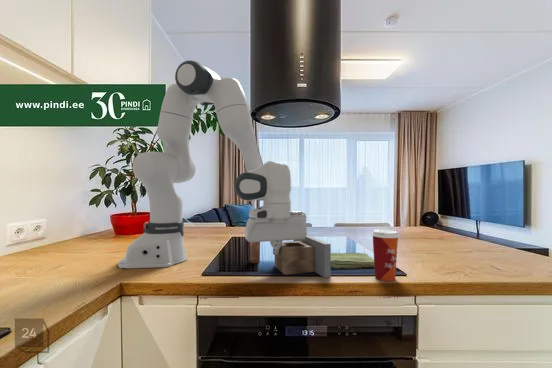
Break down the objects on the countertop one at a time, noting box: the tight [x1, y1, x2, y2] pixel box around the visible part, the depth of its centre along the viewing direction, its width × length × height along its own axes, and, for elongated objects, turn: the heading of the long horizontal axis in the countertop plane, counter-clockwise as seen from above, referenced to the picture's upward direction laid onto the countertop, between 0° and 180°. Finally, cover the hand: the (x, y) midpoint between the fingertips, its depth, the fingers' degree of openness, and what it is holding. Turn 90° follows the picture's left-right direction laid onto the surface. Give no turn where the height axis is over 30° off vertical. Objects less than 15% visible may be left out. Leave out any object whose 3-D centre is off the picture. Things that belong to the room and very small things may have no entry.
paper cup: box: [371, 229, 400, 282], centre depth 87 cm, size 8×8×14 cm
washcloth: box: [331, 252, 374, 270], centre depth 103 cm, size 13×18×3 cm
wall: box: [292, 234, 332, 279], centre depth 98 cm, size 2×24×10 cm, turn 19°
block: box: [274, 240, 315, 276], centre depth 96 cm, size 10×10×8 cm
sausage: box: [249, 242, 261, 264], centre depth 104 cm, size 4×4×12 cm
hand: (276, 254), depth 94 cm, fingers closed
